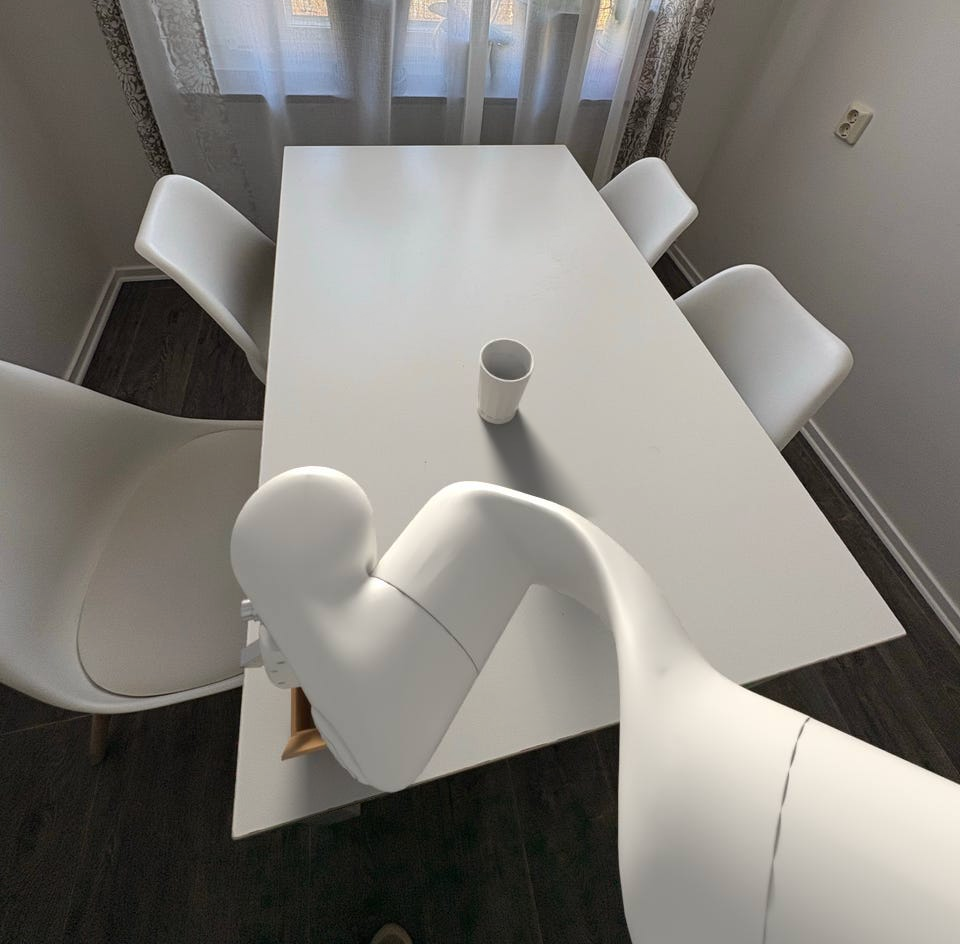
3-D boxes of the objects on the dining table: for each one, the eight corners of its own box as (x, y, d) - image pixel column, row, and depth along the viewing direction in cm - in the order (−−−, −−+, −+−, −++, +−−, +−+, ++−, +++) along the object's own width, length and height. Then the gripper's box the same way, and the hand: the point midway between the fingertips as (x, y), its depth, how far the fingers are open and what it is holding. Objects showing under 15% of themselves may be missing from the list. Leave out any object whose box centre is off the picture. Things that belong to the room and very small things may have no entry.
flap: (404, 706, 47) (404, 710, 47) (290, 737, 45) (290, 741, 45) (407, 721, 43) (407, 725, 43) (281, 756, 41) (281, 761, 41)
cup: (468, 388, 86) (475, 339, 78) (515, 384, 87) (527, 336, 79) (476, 431, 80) (484, 384, 72) (526, 426, 82) (540, 379, 74)
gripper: (178, 694, 32) (243, 734, 44) (458, 626, 36) (444, 681, 48) (195, 565, 37) (248, 634, 49) (439, 518, 41) (430, 593, 53)
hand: (345, 656), depth 49 cm, fingers closed on lemon, 5 cm apart
